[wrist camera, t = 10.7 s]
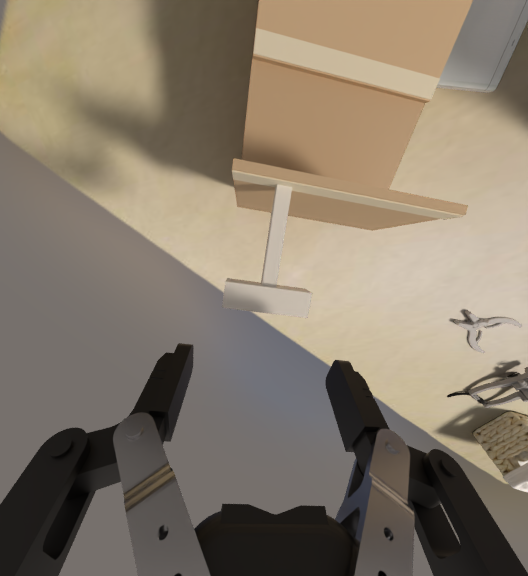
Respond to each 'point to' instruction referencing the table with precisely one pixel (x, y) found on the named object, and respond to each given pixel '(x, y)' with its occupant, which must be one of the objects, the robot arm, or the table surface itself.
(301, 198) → the right flap
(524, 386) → the bike brake
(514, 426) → the storage basket
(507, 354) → the table surface
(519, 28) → the hard drive
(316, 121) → the carton
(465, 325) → the pliers
